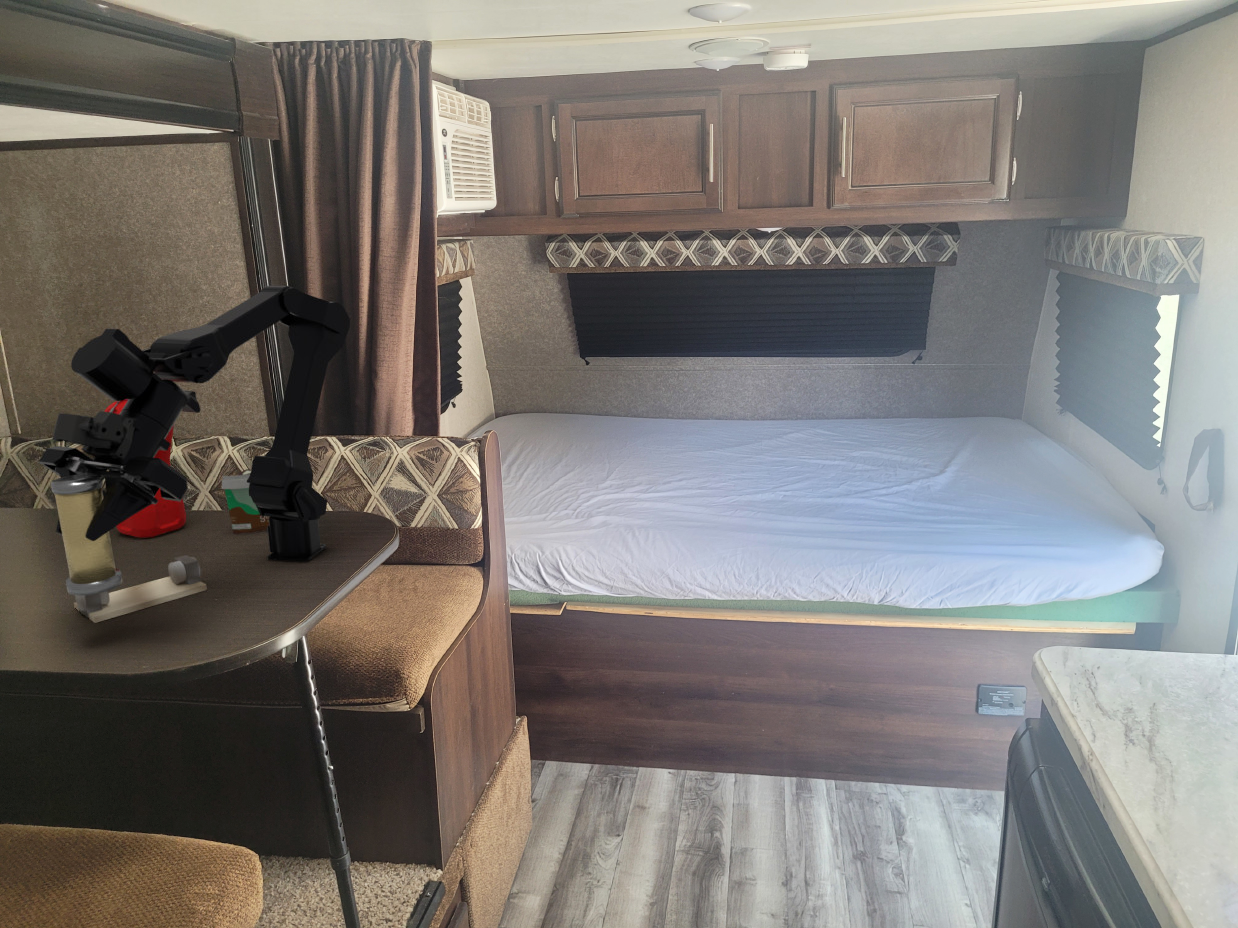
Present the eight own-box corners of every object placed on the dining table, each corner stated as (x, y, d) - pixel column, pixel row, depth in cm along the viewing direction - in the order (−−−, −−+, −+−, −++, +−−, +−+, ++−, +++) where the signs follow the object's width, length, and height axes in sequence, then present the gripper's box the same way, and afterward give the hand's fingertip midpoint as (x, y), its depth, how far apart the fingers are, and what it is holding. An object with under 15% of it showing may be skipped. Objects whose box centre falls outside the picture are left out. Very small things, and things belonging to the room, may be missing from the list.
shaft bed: (186, 577, 124) (183, 551, 123) (209, 589, 120) (205, 563, 119) (72, 609, 114) (67, 581, 113) (92, 623, 109) (87, 595, 108)
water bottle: (98, 537, 142) (73, 384, 136) (160, 518, 151) (139, 374, 145) (134, 545, 138) (110, 388, 131) (195, 526, 147) (175, 378, 141)
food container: (262, 538, 141) (255, 478, 138) (227, 536, 142) (220, 476, 139) (302, 515, 152) (296, 459, 150) (270, 513, 153) (263, 458, 151)
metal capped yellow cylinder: (133, 577, 105) (115, 473, 102) (99, 596, 100) (80, 487, 97) (91, 575, 106) (72, 472, 103) (55, 594, 101) (35, 485, 98)
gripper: (39, 380, 104) (-40, 494, 97) (150, 388, 97) (73, 512, 90) (111, 431, 113) (43, 538, 106) (217, 442, 106) (151, 558, 99)
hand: (74, 536), depth 100 cm, fingers closed on metal capped yellow cylinder, 5 cm apart
